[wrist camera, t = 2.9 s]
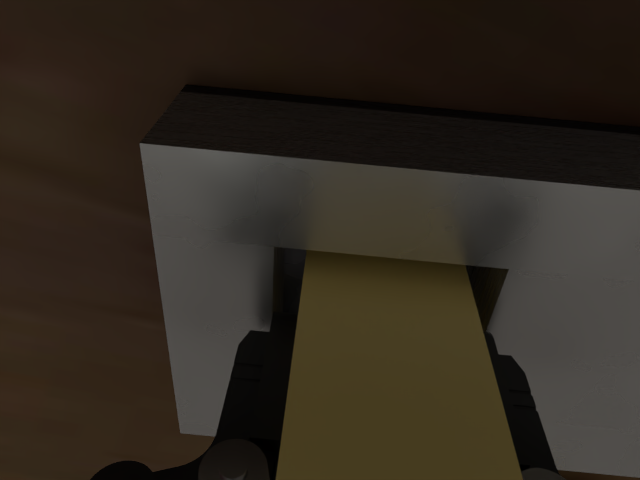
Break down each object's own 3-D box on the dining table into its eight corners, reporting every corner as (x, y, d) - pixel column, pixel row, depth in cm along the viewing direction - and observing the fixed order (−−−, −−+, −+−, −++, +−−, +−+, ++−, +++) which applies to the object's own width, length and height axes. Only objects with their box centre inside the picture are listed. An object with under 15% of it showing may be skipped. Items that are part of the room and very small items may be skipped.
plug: (312, 206, 15) (267, 539, 7) (453, 219, 15) (546, 566, 7) (303, 326, 18) (263, 652, 10) (421, 337, 18) (466, 673, 10)
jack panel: (185, 84, 13) (139, 143, 11) (1039, 165, 13) (1224, 245, 10) (206, 349, 19) (180, 433, 16) (799, 406, 19) (876, 500, 16)
